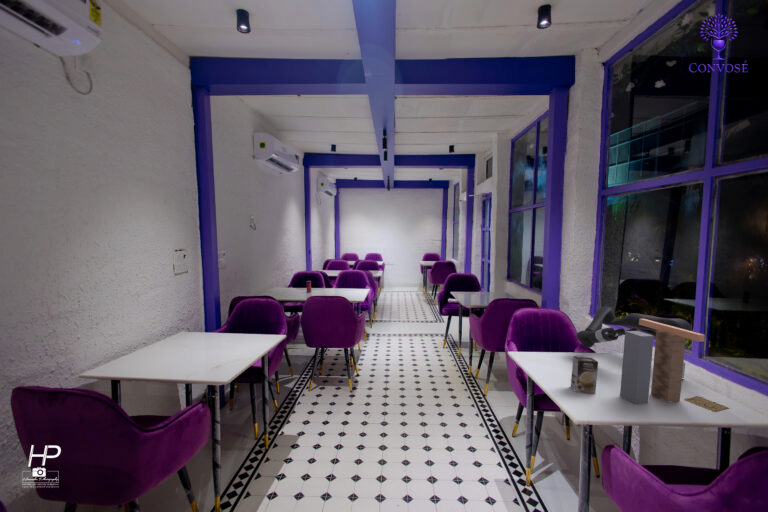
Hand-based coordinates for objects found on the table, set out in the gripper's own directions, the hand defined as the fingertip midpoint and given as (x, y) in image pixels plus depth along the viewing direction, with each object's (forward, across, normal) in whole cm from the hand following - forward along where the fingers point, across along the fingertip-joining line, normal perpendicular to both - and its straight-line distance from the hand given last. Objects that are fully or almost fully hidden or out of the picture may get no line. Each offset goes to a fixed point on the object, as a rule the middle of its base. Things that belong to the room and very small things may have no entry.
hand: (630, 329), depth 177 cm
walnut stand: (+6, +1, -34) cm, 34 cm away
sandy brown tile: (+13, -13, -38) cm, 42 cm away
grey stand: (+6, +19, -33) cm, 39 cm away
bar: (+20, 0, -5) cm, 20 cm away
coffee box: (-5, +36, -28) cm, 46 cm away
